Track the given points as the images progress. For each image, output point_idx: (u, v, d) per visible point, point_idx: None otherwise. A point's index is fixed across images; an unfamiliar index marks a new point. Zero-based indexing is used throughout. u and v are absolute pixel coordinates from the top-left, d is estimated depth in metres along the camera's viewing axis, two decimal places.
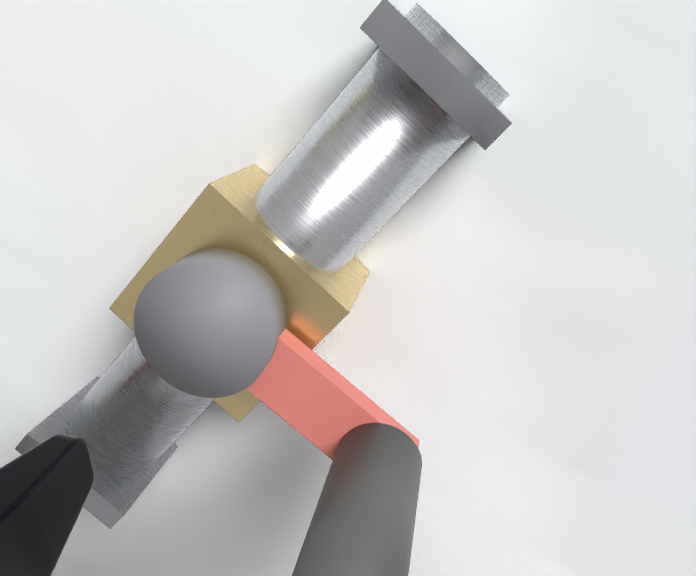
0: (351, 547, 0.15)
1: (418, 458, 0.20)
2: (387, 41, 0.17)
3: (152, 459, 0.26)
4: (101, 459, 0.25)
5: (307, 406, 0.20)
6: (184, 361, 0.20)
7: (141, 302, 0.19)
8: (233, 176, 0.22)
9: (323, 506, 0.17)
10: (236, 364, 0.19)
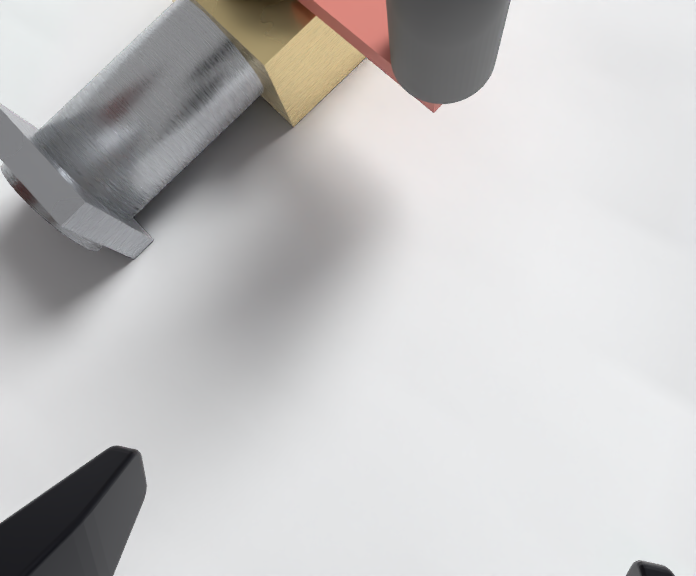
0: None
1: None
2: None
3: (132, 182, 0.20)
4: (70, 151, 0.19)
5: None
6: None
7: None
8: None
9: None
10: None
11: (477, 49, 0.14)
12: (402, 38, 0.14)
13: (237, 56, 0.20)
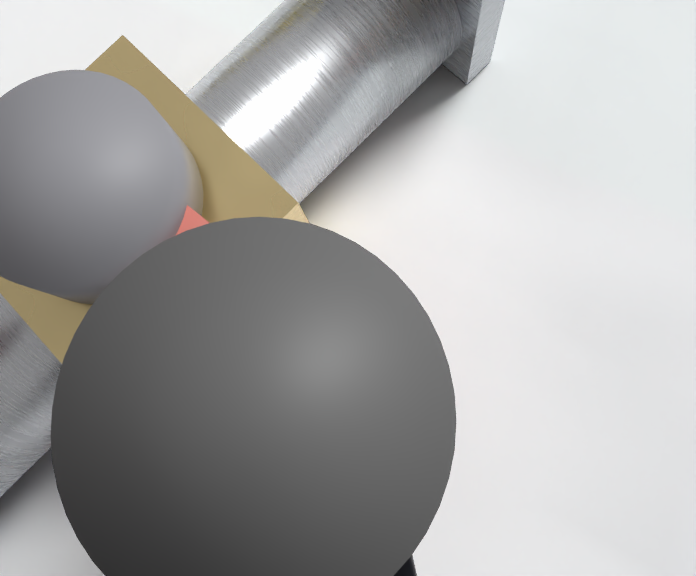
0: None
1: None
2: None
3: None
4: None
5: None
6: (24, 226, 0.12)
7: None
8: None
9: None
10: (112, 221, 0.12)
11: None
12: None
13: None
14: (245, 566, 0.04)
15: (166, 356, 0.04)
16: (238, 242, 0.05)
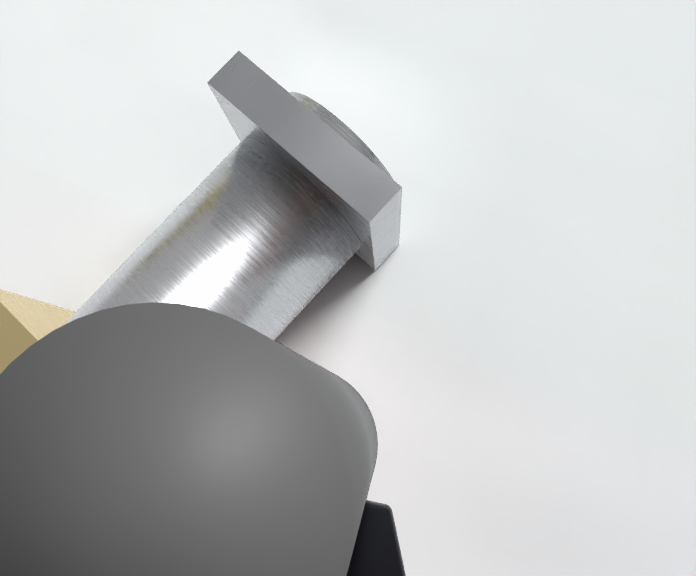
0: None
1: None
2: (240, 96, 0.14)
3: None
4: None
5: None
6: None
7: None
8: (35, 302, 0.15)
9: None
10: None
11: (372, 473, 0.09)
12: None
13: None
14: None
15: (38, 537, 0.04)
16: (12, 397, 0.04)
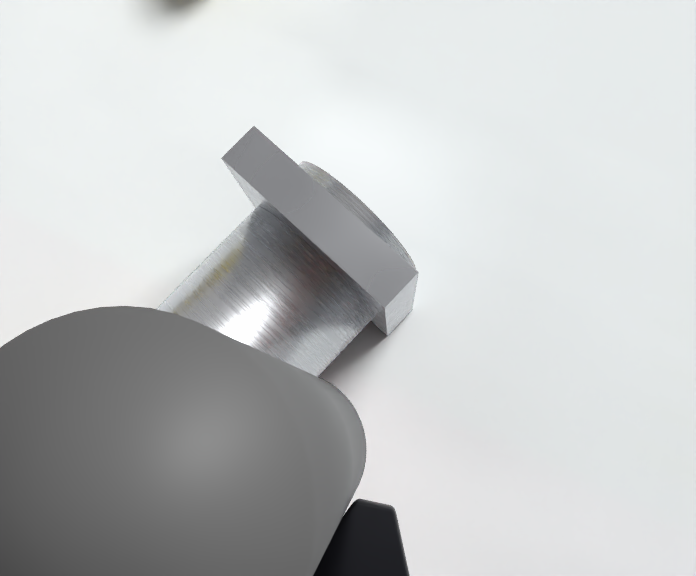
0: None
1: None
2: (255, 173, 0.13)
3: None
4: None
5: None
6: None
7: None
8: None
9: None
10: None
11: (358, 456, 0.09)
12: None
13: None
14: None
15: (7, 565, 0.04)
16: None
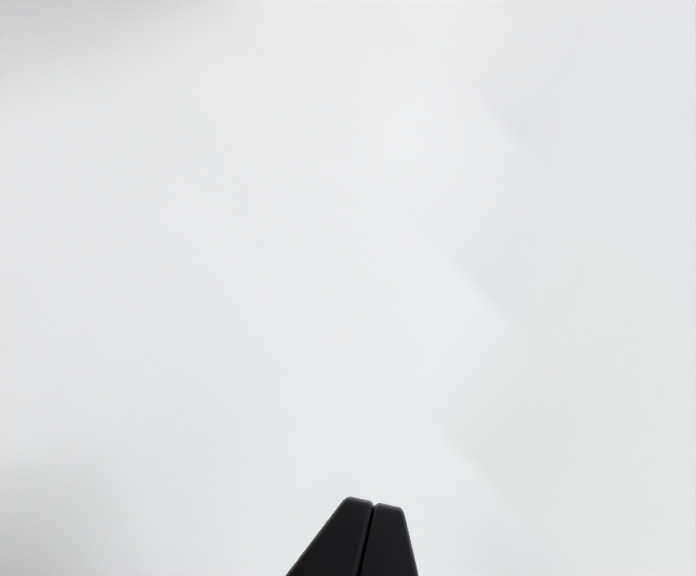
0: None
1: None
2: None
3: None
4: None
5: None
6: None
7: None
8: None
9: None
10: None
11: None
12: None
13: None
14: None
15: None
16: None
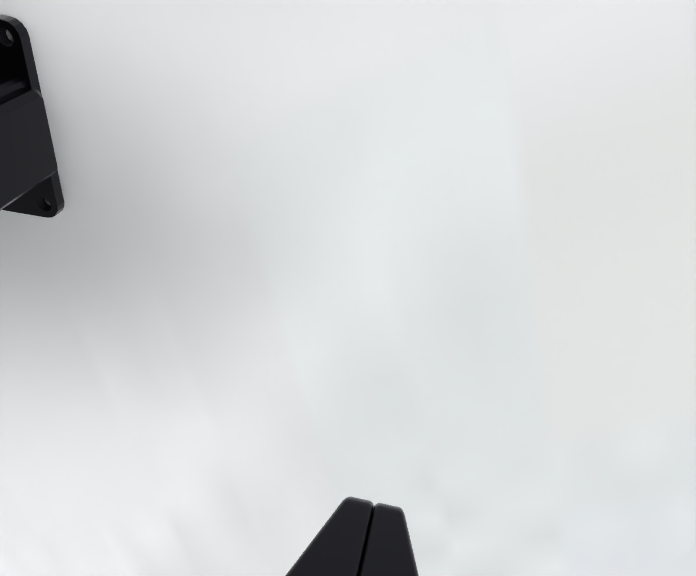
0: None
1: None
2: None
3: None
4: None
5: None
6: None
7: None
8: None
9: None
10: None
11: None
12: None
13: None
14: None
15: None
16: None
